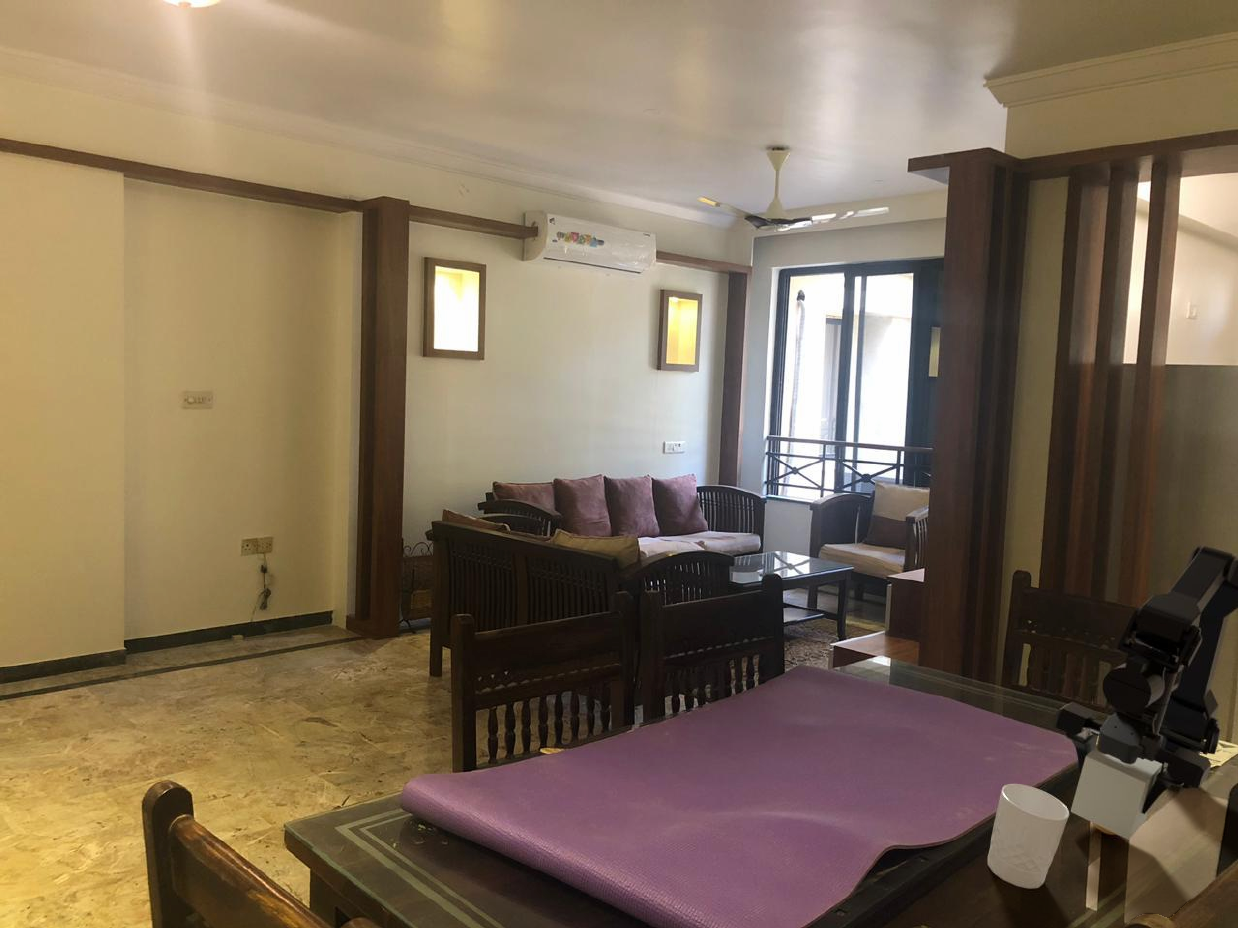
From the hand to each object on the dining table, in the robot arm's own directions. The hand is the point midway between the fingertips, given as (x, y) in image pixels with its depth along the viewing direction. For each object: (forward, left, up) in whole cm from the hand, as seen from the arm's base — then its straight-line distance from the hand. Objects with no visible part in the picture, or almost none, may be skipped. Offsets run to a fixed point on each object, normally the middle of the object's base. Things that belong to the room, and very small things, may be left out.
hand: (1112, 798), depth 132 cm
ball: (-1, 0, -3) cm, 3 cm away
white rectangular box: (0, 0, -3) cm, 3 cm away
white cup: (+22, -4, -6) cm, 23 cm away
